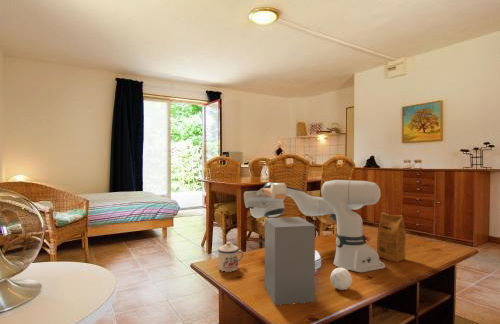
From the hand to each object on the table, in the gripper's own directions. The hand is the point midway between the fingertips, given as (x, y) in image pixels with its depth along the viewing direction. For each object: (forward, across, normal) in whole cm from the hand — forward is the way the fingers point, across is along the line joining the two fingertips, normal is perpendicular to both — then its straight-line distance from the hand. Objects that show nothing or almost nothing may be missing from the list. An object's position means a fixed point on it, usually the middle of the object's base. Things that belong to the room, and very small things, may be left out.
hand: (267, 190), depth 133 cm
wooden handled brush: (+6, 0, -5) cm, 8 cm away
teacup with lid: (-16, +17, -31) cm, 39 cm away
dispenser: (+9, 0, -45) cm, 46 cm away
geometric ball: (+8, -21, -44) cm, 50 cm away
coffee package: (-15, -62, -31) cm, 71 cm away
